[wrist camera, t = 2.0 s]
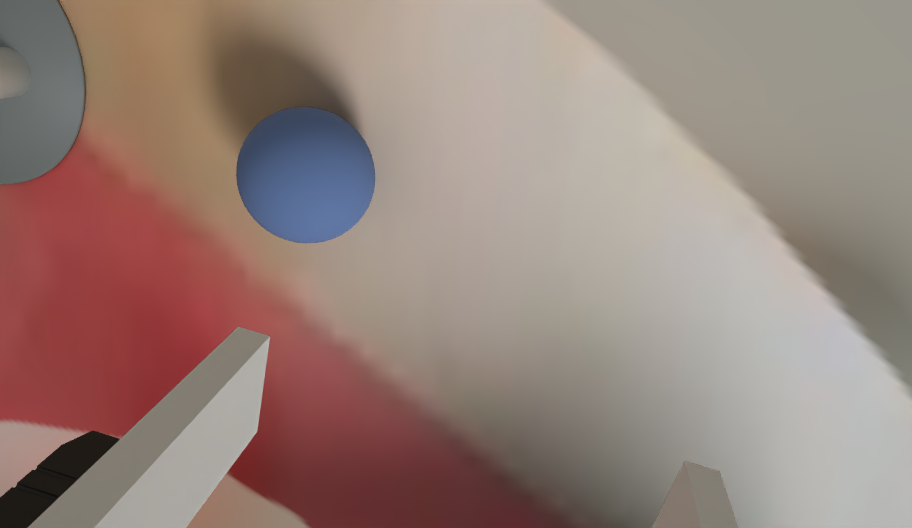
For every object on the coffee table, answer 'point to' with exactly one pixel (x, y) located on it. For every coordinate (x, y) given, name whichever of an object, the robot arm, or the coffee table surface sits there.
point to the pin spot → (40, 90)
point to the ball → (305, 175)
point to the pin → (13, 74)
